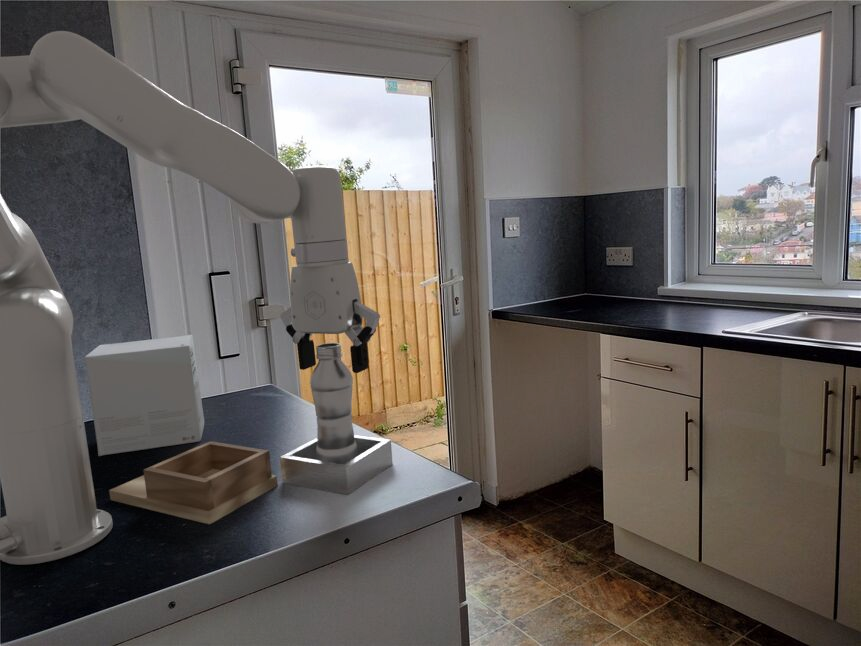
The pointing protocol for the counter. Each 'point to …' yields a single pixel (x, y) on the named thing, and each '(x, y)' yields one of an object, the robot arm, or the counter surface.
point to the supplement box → (145, 394)
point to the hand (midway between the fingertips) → (333, 369)
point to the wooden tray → (201, 482)
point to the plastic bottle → (333, 406)
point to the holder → (336, 466)
